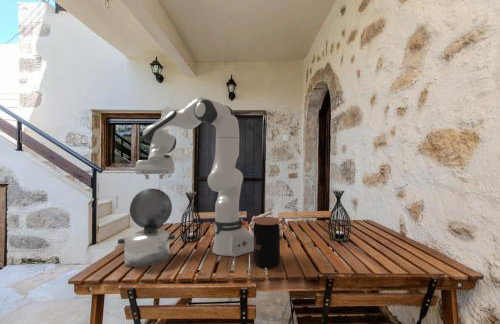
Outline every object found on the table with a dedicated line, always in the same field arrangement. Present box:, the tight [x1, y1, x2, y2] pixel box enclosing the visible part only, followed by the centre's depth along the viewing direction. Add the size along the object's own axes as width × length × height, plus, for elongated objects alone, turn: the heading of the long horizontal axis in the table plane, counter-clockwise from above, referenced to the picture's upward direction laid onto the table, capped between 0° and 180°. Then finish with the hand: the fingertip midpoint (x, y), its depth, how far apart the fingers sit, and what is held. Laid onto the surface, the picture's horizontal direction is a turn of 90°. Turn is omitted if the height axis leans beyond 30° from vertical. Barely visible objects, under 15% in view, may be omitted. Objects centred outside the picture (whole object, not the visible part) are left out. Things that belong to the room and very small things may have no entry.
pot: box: [117, 229, 176, 268], centre depth 108 cm, size 18×23×10 cm
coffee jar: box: [253, 216, 281, 269], centre depth 101 cm, size 11×11×18 cm
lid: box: [129, 188, 173, 231], centre depth 120 cm, size 20×19×3 cm
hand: (154, 178), depth 130 cm, fingers open, 6 cm apart
